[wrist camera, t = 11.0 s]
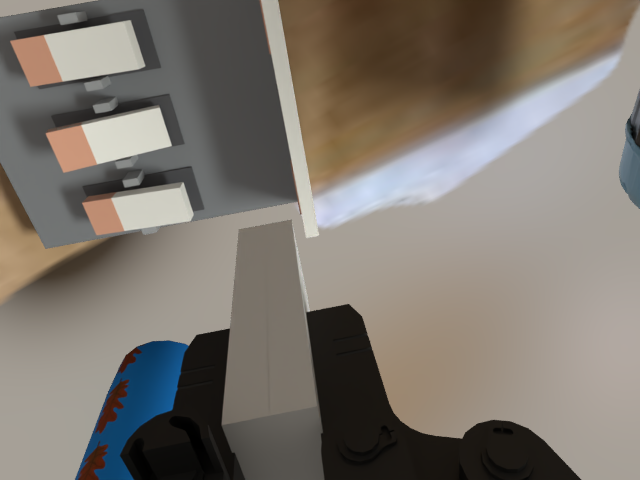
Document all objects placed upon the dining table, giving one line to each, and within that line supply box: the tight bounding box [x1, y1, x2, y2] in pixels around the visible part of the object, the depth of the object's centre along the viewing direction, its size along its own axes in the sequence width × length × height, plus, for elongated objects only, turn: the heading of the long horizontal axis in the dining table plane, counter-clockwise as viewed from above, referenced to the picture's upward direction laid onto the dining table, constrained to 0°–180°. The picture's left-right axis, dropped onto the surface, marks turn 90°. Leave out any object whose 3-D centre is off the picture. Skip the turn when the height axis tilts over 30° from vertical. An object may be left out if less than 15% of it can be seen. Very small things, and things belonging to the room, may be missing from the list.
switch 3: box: [82, 182, 194, 235], centre depth 37 cm, size 8×3×1 cm, turn 99°
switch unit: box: [0, 0, 319, 249], centre depth 35 cm, size 24×18×10 cm
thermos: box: [75, 341, 189, 480], centre depth 42 cm, size 11×11×25 cm
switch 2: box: [46, 105, 172, 173], centre depth 34 cm, size 8×3×1 cm, turn 99°
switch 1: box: [10, 20, 145, 87], centre depth 31 cm, size 8×3×1 cm, turn 99°
